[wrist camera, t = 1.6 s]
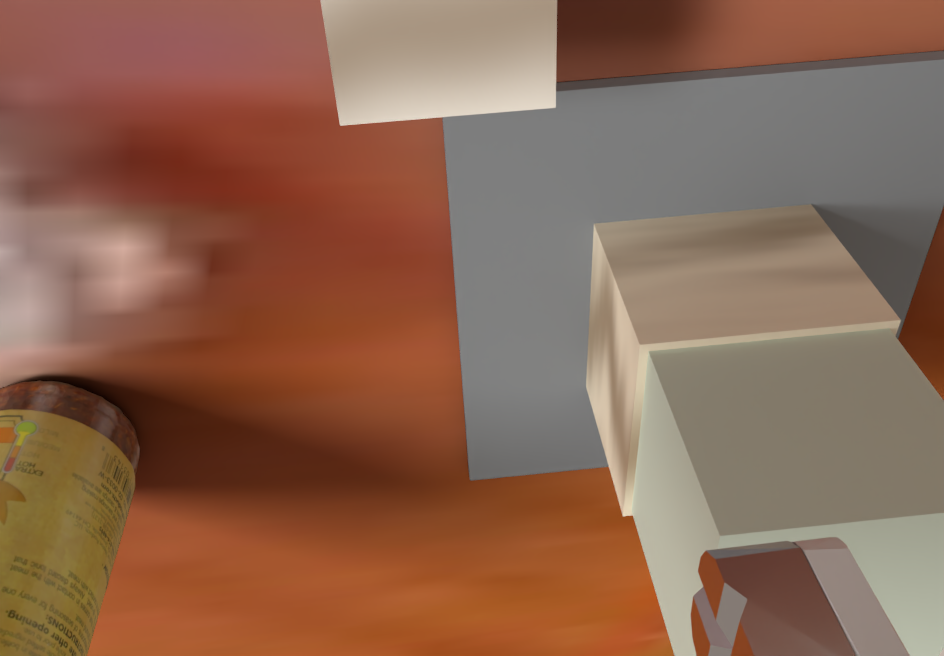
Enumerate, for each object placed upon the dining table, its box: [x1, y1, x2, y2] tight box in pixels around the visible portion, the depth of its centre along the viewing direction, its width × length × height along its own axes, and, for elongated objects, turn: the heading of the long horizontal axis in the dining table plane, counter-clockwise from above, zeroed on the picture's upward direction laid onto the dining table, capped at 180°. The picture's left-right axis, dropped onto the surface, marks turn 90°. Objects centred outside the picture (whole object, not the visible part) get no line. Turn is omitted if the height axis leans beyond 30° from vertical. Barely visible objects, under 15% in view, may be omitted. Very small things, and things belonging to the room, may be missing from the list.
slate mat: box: [442, 51, 944, 481], centre depth 30 cm, size 16×16×1 cm
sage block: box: [632, 328, 944, 656], centre depth 22 cm, size 6×6×6 cm
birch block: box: [586, 204, 901, 516], centre depth 27 cm, size 7×7×6 cm
